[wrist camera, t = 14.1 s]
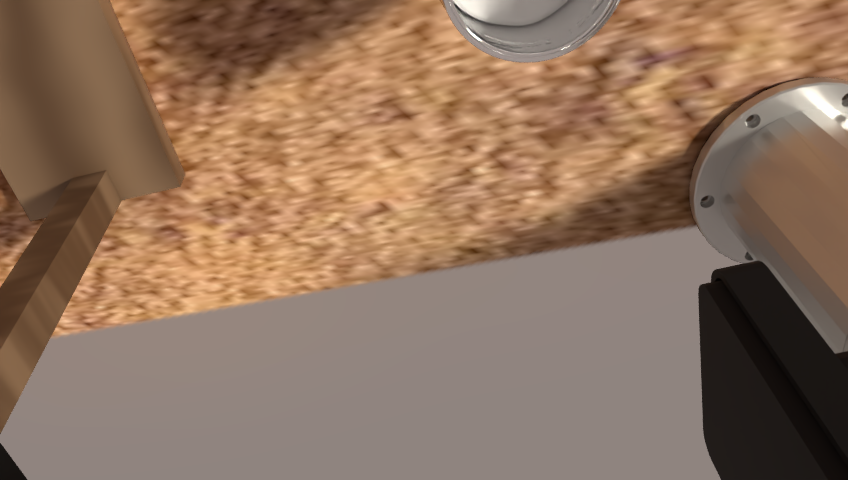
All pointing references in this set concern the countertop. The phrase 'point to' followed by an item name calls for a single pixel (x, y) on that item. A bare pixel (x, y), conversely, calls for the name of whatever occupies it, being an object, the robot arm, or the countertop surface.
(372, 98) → the countertop surface
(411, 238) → the countertop surface
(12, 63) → the stand
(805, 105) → the robot arm
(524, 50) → the beer glass
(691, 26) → the countertop surface
